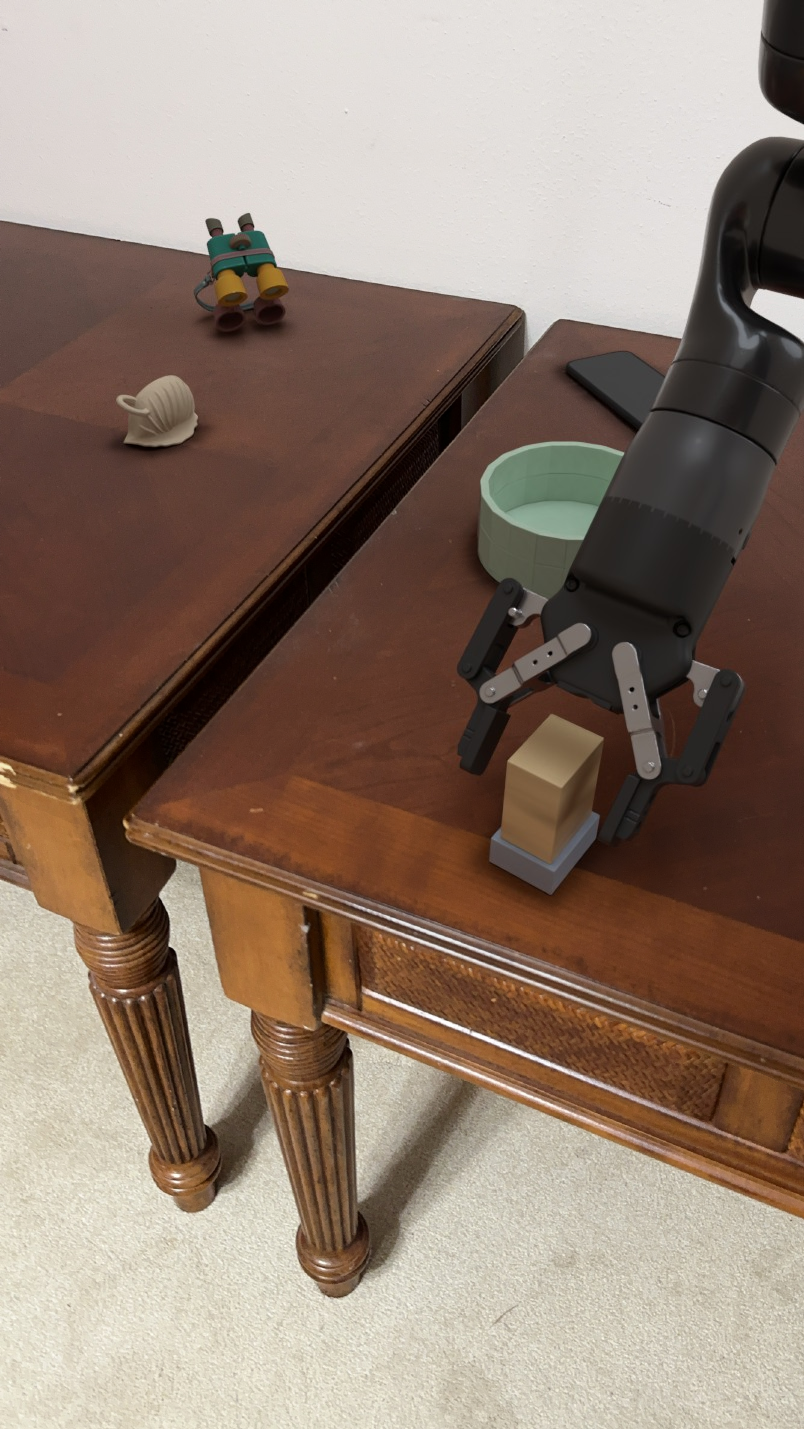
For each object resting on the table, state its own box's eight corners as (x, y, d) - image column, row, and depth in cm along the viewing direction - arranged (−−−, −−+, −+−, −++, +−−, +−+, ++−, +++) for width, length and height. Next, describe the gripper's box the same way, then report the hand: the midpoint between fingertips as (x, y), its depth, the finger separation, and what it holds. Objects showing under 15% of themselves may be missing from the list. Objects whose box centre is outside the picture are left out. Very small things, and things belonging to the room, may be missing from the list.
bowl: (666, 519, 86) (678, 457, 82) (638, 619, 77) (649, 554, 73) (502, 491, 89) (506, 429, 85) (456, 584, 80) (458, 519, 76)
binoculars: (205, 351, 113) (208, 289, 103) (180, 275, 114) (181, 207, 105) (292, 336, 115) (303, 274, 106) (266, 262, 117) (275, 195, 107)
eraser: (535, 807, 64) (547, 706, 59) (596, 838, 62) (614, 737, 57) (488, 861, 61) (496, 760, 56) (550, 895, 59) (565, 795, 54)
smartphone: (628, 347, 106) (720, 414, 96) (627, 356, 107) (718, 424, 97) (561, 361, 104) (648, 431, 94) (560, 371, 105) (646, 441, 94)
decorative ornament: (212, 427, 97) (205, 369, 93) (139, 464, 92) (128, 405, 89) (181, 412, 99) (173, 356, 95) (108, 449, 94) (96, 390, 90)
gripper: (530, 456, 56) (397, 743, 57) (798, 551, 50) (643, 871, 51) (571, 500, 63) (451, 756, 64) (812, 588, 57) (674, 870, 58)
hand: (537, 806), depth 58 cm, fingers open, 8 cm apart
